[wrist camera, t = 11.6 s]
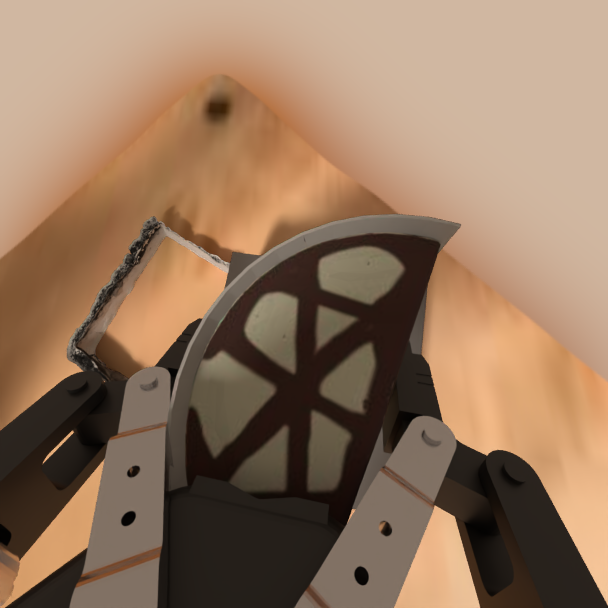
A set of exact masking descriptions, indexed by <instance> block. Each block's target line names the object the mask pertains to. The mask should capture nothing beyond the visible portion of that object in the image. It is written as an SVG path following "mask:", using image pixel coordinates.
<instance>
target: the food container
mask: <svg viewBox="0 0 608 608" xmlns="http://www.w3.org/2000/svg"><path fill="white" fill-rule="evenodd" d="M460 226H461V224H458V223H454V222H449V221H445V220H441V219H436V218H432V217H424V216H413V215H403V214H386V215H365V216H359V217H354V218H349V219H344V220H339V221H333V222H330V223H327V224H324V225H322V226H319V227H316V228H313V229H310V230H307V231H304V232H302V233H300V234H298V235H296V236H294V237H292V238H290V239H288V240H286V241H285V242H283V243H281V244H279V245H277V246H275V247H273V248H272V249H271V250H269V251H268V252H266V253H265V254H264V255H262V256H261V257H260V258H258V259H257V260H255V261H254V262H253V263H251V264H250V265H249V266H247V267H246V268H245V269H244V270H243V271H242V272H241V273H240V274H239V275H238V276H237V277H236V278H235V279H234V280H233V281H232V282H231V283H230V284H229V285H228V286H227V287H226V288H225V289H224V290H223V292H222V293H221V294H220V296H219V297H218V298H217V300H216V301H215V302H214V304H213V305H212V306H211V308H210V309H209V310H208V311H207V313H206V314H205V316H204V317H203V319H202V321H201V323H200V325H199V326H198V328H197V330H196V332H195V334H194V336H193V337H192V339H191V341H190V343H189V345H188V347H187V350H186V352H185V355H184V358H183V360H182V363H181V366H180V368H179V371H178V374H177V376H176V379H175V384H174V388H173V393H172V397H171V402H170V406H169V411H168V419H167V423H168V430H169V438H170V444H171V449H172V457H173V465H174V467H172V466H171V465H170V468H169V491H171V490H174V489H177V488H180V487H185V486H191V485H192V484H193V482H194V480H195V478H196V476H197V475H198V476H203V477H207V478H212V479H216V480H221V481H225V482H229V483H230V484H232V485H234V486H236V487H237V488H239V489H241V490H243V491H244V492H246V493H248V494H250V495H251V496H253V497H255V498H257V499H274V498H289V497H297V498H302V499H306V500H311V501H315V502H320V503H324V504H329V511H328V515H329V516H331V517H332V518H334V519H336V520H337V521H338V522H340V523H341V524H342V525H343V526H344V527H346V525H347V522H348V519H349V516H350V514H351V511H352V508H353V505H354V502H355V499H356V496H357V494H358V491H359V488H360V485H361V482H362V480H363V477H364V474H365V472H366V469H367V466H368V464H369V461H370V458H371V455H372V453H373V450H374V447H375V445H376V442H377V439H378V437H379V434H380V431H381V428H382V426H383V423H384V419H385V416H386V413H387V409H388V406H389V403H390V399H391V396H392V393H393V389H394V386H395V383H396V379H397V376H398V373H399V370H400V367H401V364H402V361H403V357H404V354H405V351H406V348H407V345H408V342H409V339H410V336H411V333H412V330H413V327H414V324H415V321H416V318H417V315H418V312H419V309H420V306H421V303H422V300H423V297H424V294H425V291H426V288H427V285H428V282H429V279H430V276H431V273H432V270H433V267H434V264H435V261H436V257H437V254H438V253H439V252H440V250H441V249H442V248H443V247H444V245H445V244H446V243H447V242H448V241H449V239H450V238H451V237H452V236H453V235H454V234H455V233H456V231H457V230H458V229H459V228H460Z"/></svg>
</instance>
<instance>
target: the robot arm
mask: <svg viewBox="0 0 608 608" xmlns="http://www.w3.org/2000/svg"><path fill="white" fill-rule="evenodd" d="M201 321H202V319H200V318H199V319H197V320H196V321H194V322H192V323H191V324H189V325H188V326H187V327H186V329H185V330H184V331H183V332H182V335H180V336H179V337H178V338H177V340H176V342H174V343H173V345H172V346H171V347H170V348H169V349H168V351H167V352H166V353H165V354H164V356H163V357H162V358H161V359H160V360H159V362H158V363H157V364H156V365H155V367H149V368H145V369H142V370H140V371H138V372H136V373H135V374H134V375H132V376H131V377H130V379H129V380H122V381H111V382H104V381H103V379H102V376H101V375H100V374H99V373H97V372H93V371H84V372H79V373H76V374H73V375H71V376H69V377H67V378H65V379H64V380H62V381H61V382H60V383H58V384H57V385H56V386H55V387H54V388H52V389H51V390H50V391H49V392H47V393H46V394H45V395H44V396H42V397H41V398H40V399H39V400H38V401H36V402H35V403H34V404H33V405H31V406H30V407H29V408H28V409H27V410H25V411H24V412H23V413H22V414H20V415H19V416H18V417H17V418H15V419H14V420H13V421H12V422H11V423H9V424H8V425H7V426H6V427H4V428H3V429H2V430H1V431H0V606H2V605H3V604H4V603H5V602H6V601H7V600H8V598H9V597H10V596H11V594H12V592H13V589H14V581H15V579H16V577H17V574H18V571H19V564H20V563H19V561H20V560H21V558H22V557H23V556H24V555H25V554H26V552H27V551H28V550H29V549H30V548H31V546H32V545H33V544H34V543H35V542H36V540H37V539H38V538H39V537H40V536H41V534H42V533H43V532H44V531H45V530H46V528H47V527H48V526H49V525H50V524H51V522H52V521H53V520H54V519H55V518H56V516H57V515H58V514H59V513H60V512H61V510H62V509H63V508H64V507H65V505H66V504H67V503H68V502H69V501H70V499H71V498H72V497H73V496H74V495H75V493H76V492H77V491H78V490H79V489H80V487H81V486H82V485H83V484H84V483H85V481H86V480H87V479H88V478H89V477H90V475H91V474H92V473H93V472H94V471H95V469H96V468H97V467H98V466H99V465H100V463H101V462H102V461H103V460H104V459H105V460H104V466H103V471H102V476H101V481H100V487H99V492H98V497H97V502H96V508H95V513H94V518H93V523H92V529H91V534H90V539H89V544H88V548H86V549H85V550H84V551H82V552H81V553H79V554H78V555H77V556H75V557H74V558H73V559H71V560H70V561H68V562H67V563H66V564H64V565H63V566H62V567H60V568H59V569H57V570H56V571H55V572H53V573H52V574H51V575H49V576H48V577H46V578H45V579H44V580H42V581H41V582H40V583H38V584H37V585H36V586H34V587H33V588H31V589H30V590H29V591H27V592H26V593H25V594H23V595H22V596H20V597H19V598H18V599H16V600H15V601H14V602H12V603H11V604H9V605H8V606H7V607H5V608H394V606H395V604H396V601H397V599H398V596H399V594H400V591H401V589H402V586H403V584H404V581H405V579H406V576H407V574H408V572H409V569H410V567H411V564H412V562H413V559H414V557H415V554H416V552H417V549H418V547H419V544H420V542H421V539H422V537H423V535H424V532H425V530H426V527H427V525H428V522H429V520H430V517H431V515H432V512H433V509H434V505H435V506H437V507H439V508H441V509H443V510H444V511H446V512H448V513H450V514H451V515H453V516H455V519H456V522H457V526H458V529H459V533H460V536H461V540H462V544H463V547H464V551H465V554H466V558H467V561H468V565H469V568H470V572H471V576H472V579H473V583H474V586H475V590H476V593H477V597H478V600H479V604H480V608H608V605H607V603H606V601H605V600H604V598H603V596H602V594H601V592H600V590H599V588H598V587H597V585H596V583H595V581H594V579H593V577H592V575H591V574H590V572H589V570H588V568H587V566H586V564H585V562H584V561H583V559H582V557H581V555H580V553H579V551H578V549H577V547H576V546H575V544H574V542H573V540H572V538H571V536H570V534H569V533H568V531H567V529H566V527H565V525H564V523H563V521H562V520H561V518H560V516H559V514H558V512H557V510H556V508H555V507H554V505H553V503H552V501H551V499H550V497H549V495H548V493H547V492H546V490H545V488H544V486H543V484H542V482H541V480H540V479H539V477H538V475H537V474H536V472H535V471H534V470H533V468H532V467H531V466H530V465H529V464H528V463H527V462H525V461H524V460H523V459H521V458H520V457H518V456H517V455H515V454H513V453H510V452H507V451H503V450H495V451H492V452H491V453H489V454H488V456H486V455H484V454H482V453H480V452H478V451H476V450H474V449H472V448H470V447H467V446H466V445H464V444H462V443H460V442H459V441H458V440H456V439H455V436H454V434H453V432H452V431H451V430H450V429H449V427H448V426H447V425H445V424H444V423H443V421H442V417H441V413H440V409H439V404H438V400H437V396H436V392H435V388H434V384H433V379H432V378H431V376H432V375H431V371H430V367H429V364H428V363H427V362H426V360H425V359H424V358H423V356H422V355H420V354H414V353H412V349H411V344H410V341H409V342H408V345H407V348H406V351H405V354H404V357H403V361H402V364H401V367H400V370H399V373H398V376H397V379H396V383H395V386H394V389H393V393H392V396H391V399H390V403H389V406H388V409H387V413H386V416H385V419H384V423H383V426H382V431H383V452H385V453H390V454H392V455H391V456H390V458H389V460H388V461H387V463H386V465H385V466H384V467H382V468H381V469H380V471H379V472H378V474H377V476H376V477H375V479H374V481H373V482H372V484H371V485H370V487H369V489H368V490H367V492H366V494H365V495H364V497H363V499H362V500H361V502H360V504H359V505H358V507H357V508H356V510H355V512H354V513H353V515H352V517H351V518H350V520H349V522H348V523H347V525H346V527H344V526H343V525H342V524H341V523H340V522H338V521H337V520H336V519H334V518H332V517H331V516H329V515H328V511H329V504H324V503H320V502H315V501H311V500H306V499H302V498H297V497H289V498H274V499H257V498H255V497H253V496H251V495H250V494H248V493H246V492H244V491H243V490H241V489H239V488H237V487H236V486H234V485H232V484H230V483H229V482H225V481H221V480H216V479H212V478H207V477H203V476H198V475H197V476H196V478H195V480H194V482H193V484H192V485H191V486H185V487H180V488H177V489H174V490H171V491H169V468H170V465H171V466H172V467H174V465H173V457H172V449H171V444H170V438H169V430H168V423H167V419H168V411H169V406H170V402H171V397H172V393H173V388H174V384H175V379H176V376H177V374H178V371H179V368H180V366H181V363H182V360H183V358H184V355H185V352H186V350H187V347H188V345H189V343H190V341H191V339H192V337H193V336H194V334H195V332H196V330H197V328H198V326H199V325H200V323H201ZM72 430H73V432H74V433H73V434H72V435H71V436H70V437H69V438H68V439H67V440H66V441H65V442H64V443H63V444H62V445H61V446H60V447H59V448H58V449H57V450H56V451H55V452H54V453H53V454H52V455H51V456H50V457H49V458H48V459H47V460H46V461H45V462H44V463H43V461H44V459H45V458H46V456H47V455H48V454H49V453H50V452H51V451H52V450H53V449H54V448H55V447H56V446H57V445H58V444H59V443H60V442H61V441H62V440H63V439H64V438H65V437H66V436H67V435H68V434H69V433H70V432H71V431H72Z"/></svg>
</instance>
